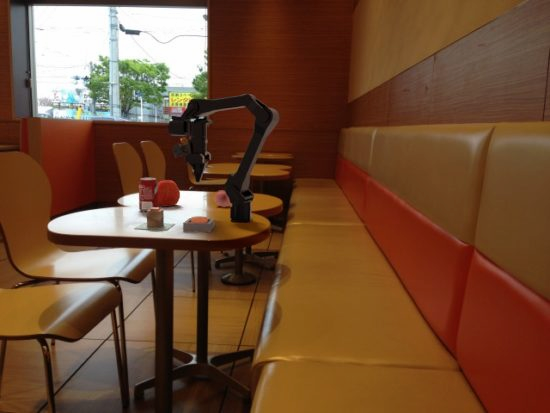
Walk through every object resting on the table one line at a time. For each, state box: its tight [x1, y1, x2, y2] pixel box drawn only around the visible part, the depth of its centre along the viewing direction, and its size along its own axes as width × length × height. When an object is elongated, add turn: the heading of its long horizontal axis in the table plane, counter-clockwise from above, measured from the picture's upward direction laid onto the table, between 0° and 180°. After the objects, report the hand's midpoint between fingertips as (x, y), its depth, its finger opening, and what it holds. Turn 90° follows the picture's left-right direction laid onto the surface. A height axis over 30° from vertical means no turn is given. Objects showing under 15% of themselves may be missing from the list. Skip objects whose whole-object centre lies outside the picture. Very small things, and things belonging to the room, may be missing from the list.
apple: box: [157, 179, 181, 207], centre depth 179 cm, size 10×10×10 cm
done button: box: [190, 215, 209, 223], centre depth 138 cm, size 5×5×3 cm
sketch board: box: [133, 222, 176, 231], centre depth 140 cm, size 10×9×1 cm
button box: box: [182, 217, 216, 233], centre depth 138 cm, size 8×8×2 cm
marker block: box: [146, 207, 165, 227], centre depth 140 cm, size 4×4×6 cm
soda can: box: [138, 177, 159, 212], centre depth 166 cm, size 7×7×12 cm
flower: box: [214, 189, 232, 208], centre depth 182 cm, size 8×8×6 cm
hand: (197, 182), depth 157 cm, fingers closed
